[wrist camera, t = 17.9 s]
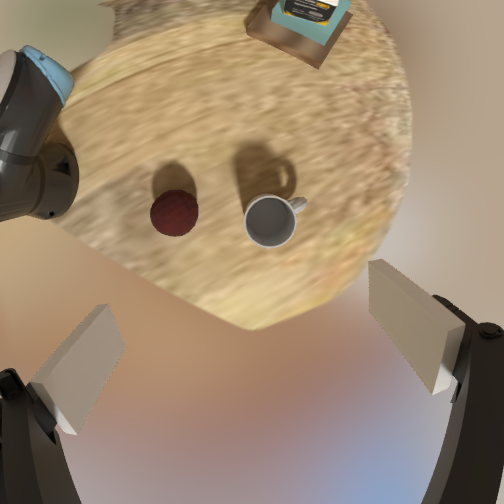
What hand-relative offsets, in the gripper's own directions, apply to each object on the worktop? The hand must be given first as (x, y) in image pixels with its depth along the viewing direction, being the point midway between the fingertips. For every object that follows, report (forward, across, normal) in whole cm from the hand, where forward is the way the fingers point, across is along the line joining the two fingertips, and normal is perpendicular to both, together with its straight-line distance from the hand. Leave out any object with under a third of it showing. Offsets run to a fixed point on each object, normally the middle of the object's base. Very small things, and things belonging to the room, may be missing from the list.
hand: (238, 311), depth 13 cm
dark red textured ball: (+36, -10, +2) cm, 37 cm away
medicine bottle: (+30, +16, +33) cm, 47 cm away
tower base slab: (+38, +16, +32) cm, 52 cm away
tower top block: (+34, +17, +33) cm, 50 cm away
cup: (+36, +5, -1) cm, 36 cm away
